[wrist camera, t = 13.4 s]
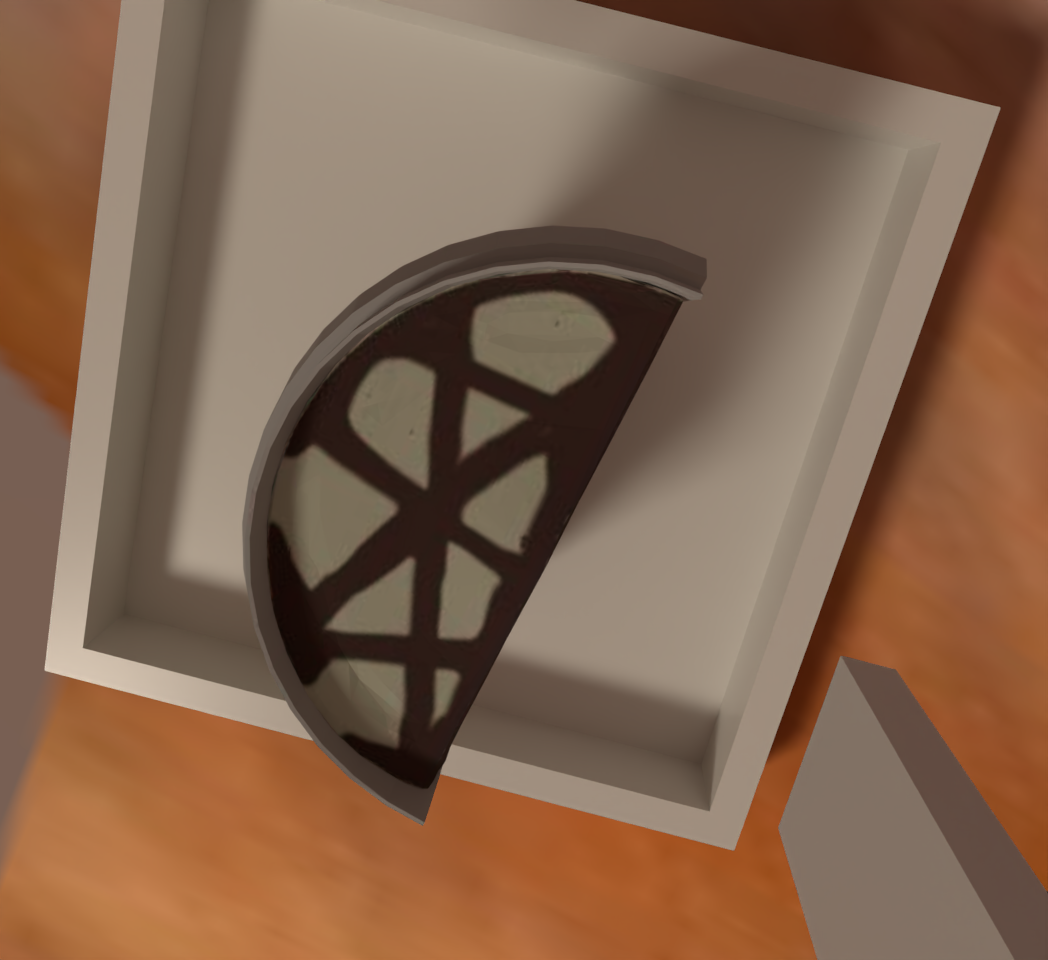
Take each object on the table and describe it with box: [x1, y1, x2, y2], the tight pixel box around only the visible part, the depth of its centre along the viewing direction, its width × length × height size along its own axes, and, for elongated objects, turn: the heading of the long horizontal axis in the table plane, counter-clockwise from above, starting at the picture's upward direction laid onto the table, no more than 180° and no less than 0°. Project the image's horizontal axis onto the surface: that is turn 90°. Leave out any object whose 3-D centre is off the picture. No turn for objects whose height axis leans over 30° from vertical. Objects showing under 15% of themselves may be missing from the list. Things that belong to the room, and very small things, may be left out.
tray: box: [45, 0, 1001, 851], centre depth 26 cm, size 20×20×3 cm
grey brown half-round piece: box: [242, 226, 707, 826], centre depth 22 cm, size 12×6×10 cm, turn 154°
